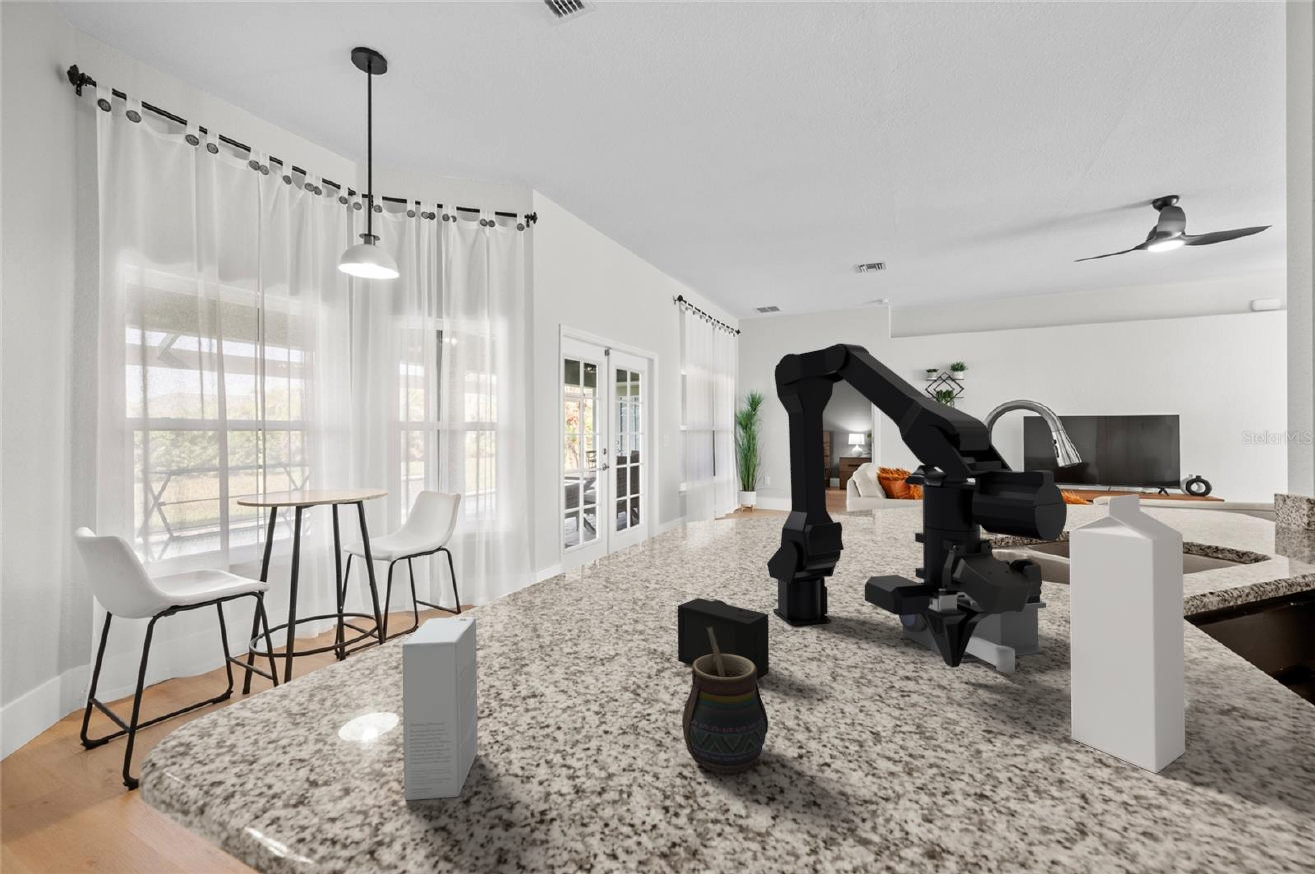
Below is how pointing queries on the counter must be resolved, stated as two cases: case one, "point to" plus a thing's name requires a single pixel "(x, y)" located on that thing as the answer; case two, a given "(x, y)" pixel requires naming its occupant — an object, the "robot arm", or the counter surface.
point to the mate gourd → (724, 712)
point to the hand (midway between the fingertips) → (952, 666)
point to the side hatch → (991, 645)
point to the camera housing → (1015, 631)
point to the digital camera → (723, 632)
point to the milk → (1128, 636)
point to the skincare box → (439, 707)
